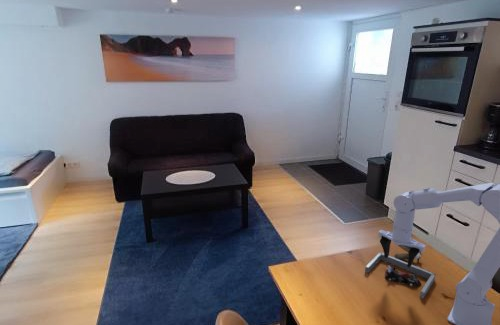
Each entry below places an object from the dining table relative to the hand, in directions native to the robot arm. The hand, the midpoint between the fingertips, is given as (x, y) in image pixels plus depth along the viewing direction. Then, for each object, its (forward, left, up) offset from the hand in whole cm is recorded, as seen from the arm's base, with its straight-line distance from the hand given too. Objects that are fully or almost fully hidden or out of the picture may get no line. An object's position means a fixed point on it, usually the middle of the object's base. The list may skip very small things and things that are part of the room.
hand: (397, 261), depth 106 cm
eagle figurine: (+2, -18, -9) cm, 20 cm away
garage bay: (0, -5, -9) cm, 10 cm away
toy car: (-2, -3, -9) cm, 10 cm away
